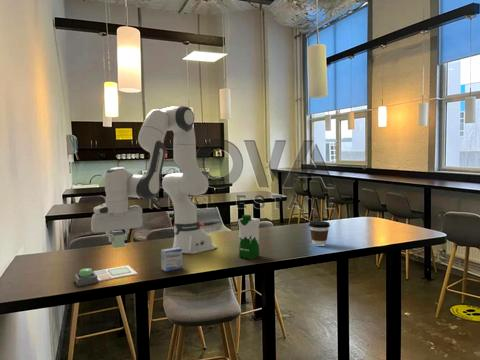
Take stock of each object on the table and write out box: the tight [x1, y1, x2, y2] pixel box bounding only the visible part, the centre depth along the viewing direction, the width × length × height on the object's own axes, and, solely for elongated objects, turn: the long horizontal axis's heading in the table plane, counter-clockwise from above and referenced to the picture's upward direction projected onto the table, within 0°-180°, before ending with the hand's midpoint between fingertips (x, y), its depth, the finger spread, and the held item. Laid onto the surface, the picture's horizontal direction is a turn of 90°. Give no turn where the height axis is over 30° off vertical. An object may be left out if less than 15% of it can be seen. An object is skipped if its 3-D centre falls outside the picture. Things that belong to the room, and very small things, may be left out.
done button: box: [79, 267, 93, 278], centre depth 143 cm, size 4×4×3 cm
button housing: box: [74, 270, 99, 287], centre depth 143 cm, size 7×7×2 cm
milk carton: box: [237, 214, 261, 260], centre depth 173 cm, size 9×9×20 cm
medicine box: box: [160, 247, 183, 272], centre depth 157 cm, size 8×4×9 cm, turn 126°
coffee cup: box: [308, 220, 331, 245], centre depth 193 cm, size 11×11×12 cm
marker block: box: [111, 230, 126, 249], centre depth 152 cm, size 4×4×6 cm
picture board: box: [93, 264, 138, 283], centre depth 152 cm, size 15×13×1 cm
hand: (118, 240), depth 152 cm, fingers closed on marker block, 4 cm apart
